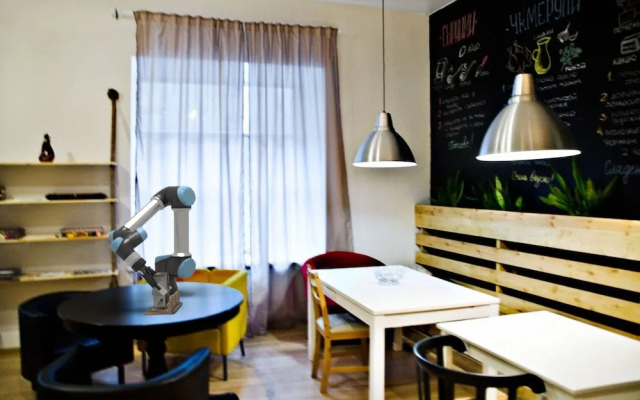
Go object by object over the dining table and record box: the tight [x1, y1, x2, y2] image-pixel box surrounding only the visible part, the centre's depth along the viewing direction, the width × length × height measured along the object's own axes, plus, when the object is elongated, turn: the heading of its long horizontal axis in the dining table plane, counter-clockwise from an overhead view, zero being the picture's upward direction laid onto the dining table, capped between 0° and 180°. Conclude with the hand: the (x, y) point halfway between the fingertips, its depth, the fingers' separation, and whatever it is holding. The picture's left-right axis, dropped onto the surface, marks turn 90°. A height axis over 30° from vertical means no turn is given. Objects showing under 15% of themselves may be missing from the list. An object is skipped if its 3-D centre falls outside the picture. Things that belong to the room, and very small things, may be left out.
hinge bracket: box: [144, 289, 183, 316], centre depth 244 cm, size 20×15×8 cm
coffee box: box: [152, 272, 170, 307], centre depth 244 cm, size 9×6×16 cm
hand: (167, 291), depth 244 cm, fingers closed on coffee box, 9 cm apart
